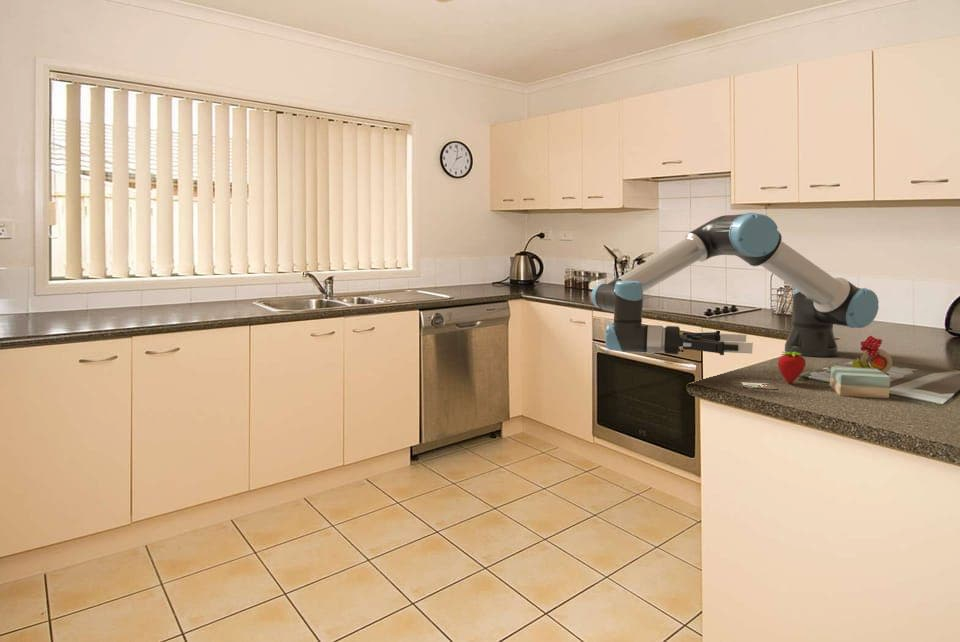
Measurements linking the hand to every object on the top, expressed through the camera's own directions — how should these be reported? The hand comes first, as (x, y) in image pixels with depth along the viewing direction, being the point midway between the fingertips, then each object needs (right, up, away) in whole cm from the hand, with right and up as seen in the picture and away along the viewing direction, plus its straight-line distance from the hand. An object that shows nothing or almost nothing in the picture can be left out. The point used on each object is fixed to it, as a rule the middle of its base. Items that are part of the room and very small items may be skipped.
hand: (749, 343), depth 159 cm
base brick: (+22, -11, -11) cm, 27 cm away
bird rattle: (+35, -9, +6) cm, 37 cm away
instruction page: (+1, -11, -4) cm, 12 cm away
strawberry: (+10, -10, -2) cm, 14 cm away
